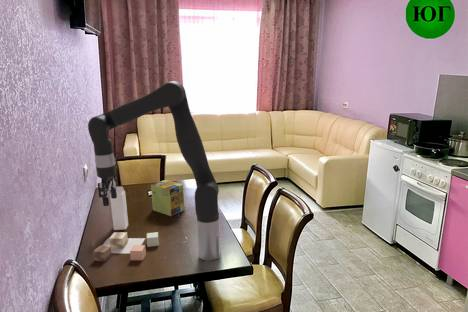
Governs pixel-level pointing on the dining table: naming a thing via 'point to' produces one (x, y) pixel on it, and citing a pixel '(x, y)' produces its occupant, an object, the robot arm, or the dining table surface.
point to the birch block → (118, 240)
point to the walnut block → (102, 253)
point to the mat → (128, 247)
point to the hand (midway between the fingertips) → (110, 201)
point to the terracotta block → (138, 252)
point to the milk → (119, 210)
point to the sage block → (152, 239)
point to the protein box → (167, 197)
